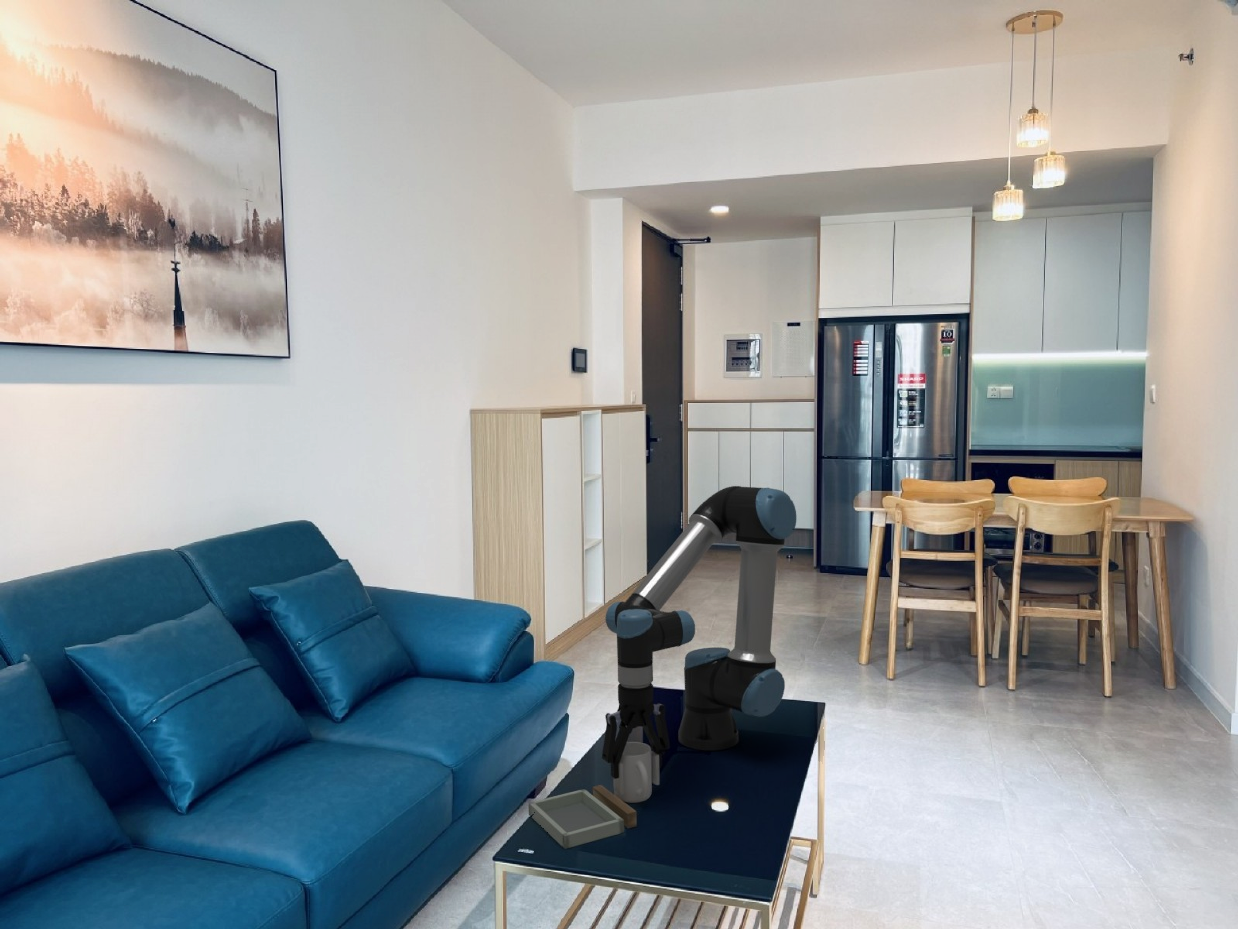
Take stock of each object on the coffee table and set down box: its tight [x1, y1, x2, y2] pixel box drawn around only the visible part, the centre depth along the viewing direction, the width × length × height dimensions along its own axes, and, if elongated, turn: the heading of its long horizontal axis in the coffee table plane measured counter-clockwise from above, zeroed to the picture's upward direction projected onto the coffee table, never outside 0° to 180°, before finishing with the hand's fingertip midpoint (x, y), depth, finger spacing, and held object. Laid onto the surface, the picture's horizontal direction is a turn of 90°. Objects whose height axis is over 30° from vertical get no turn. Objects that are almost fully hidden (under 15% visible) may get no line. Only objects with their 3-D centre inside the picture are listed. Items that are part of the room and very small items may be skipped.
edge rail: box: [592, 784, 638, 829], centre depth 182 cm, size 2×15×3 cm, turn 29°
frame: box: [528, 788, 625, 850], centre depth 177 cm, size 13×17×2 cm
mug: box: [613, 741, 653, 804], centre depth 188 cm, size 12×8×10 cm
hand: (637, 787), depth 188 cm, fingers closed on mug, 8 cm apart
